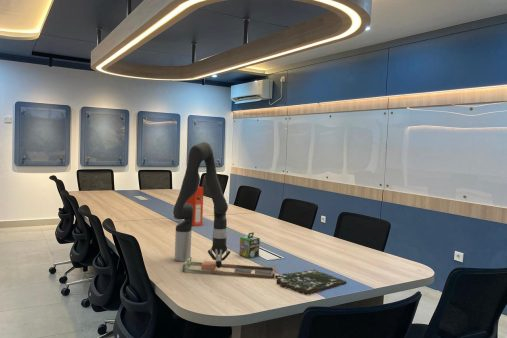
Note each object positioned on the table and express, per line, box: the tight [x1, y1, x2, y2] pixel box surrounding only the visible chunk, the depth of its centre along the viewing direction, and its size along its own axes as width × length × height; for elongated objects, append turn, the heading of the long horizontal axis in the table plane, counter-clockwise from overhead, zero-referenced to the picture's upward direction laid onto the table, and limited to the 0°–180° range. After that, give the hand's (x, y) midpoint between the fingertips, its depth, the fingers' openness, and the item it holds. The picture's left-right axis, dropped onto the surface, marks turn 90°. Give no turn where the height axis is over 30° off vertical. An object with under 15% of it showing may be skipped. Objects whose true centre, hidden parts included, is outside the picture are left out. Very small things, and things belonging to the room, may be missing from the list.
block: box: [200, 260, 217, 271], centre depth 219 cm, size 7×7×4 cm
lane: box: [182, 256, 276, 279], centre depth 217 cm, size 14×49×4 cm, turn 86°
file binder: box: [186, 186, 204, 227], centre depth 335 cm, size 8×17×32 cm, turn 36°
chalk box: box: [239, 232, 261, 259], centre depth 249 cm, size 9×9×15 cm
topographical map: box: [274, 269, 348, 296], centre depth 206 cm, size 26×33×3 cm
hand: (218, 267), depth 218 cm, fingers closed
